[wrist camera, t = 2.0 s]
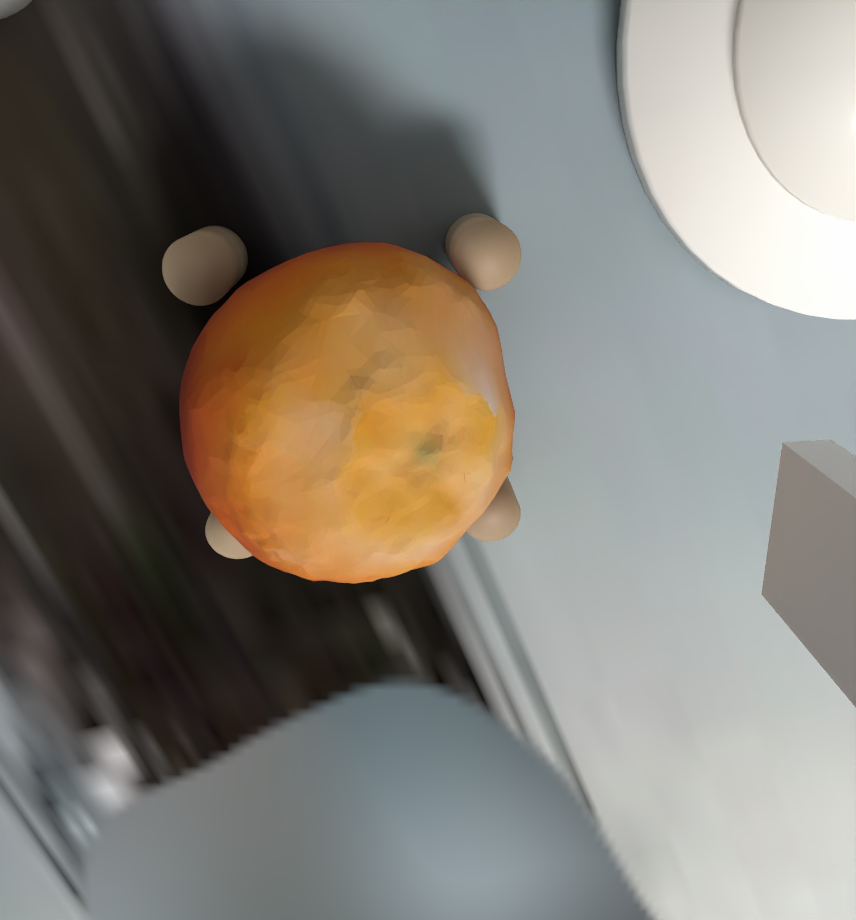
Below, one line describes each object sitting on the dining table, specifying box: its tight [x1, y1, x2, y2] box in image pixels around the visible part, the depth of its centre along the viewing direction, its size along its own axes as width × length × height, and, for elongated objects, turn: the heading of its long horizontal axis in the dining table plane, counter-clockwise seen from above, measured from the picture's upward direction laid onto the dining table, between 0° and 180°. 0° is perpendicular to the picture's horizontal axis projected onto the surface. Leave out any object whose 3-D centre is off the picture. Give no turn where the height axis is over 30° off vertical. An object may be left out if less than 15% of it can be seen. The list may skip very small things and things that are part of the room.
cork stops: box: [162, 213, 521, 559], centre depth 21 cm, size 8×8×2 cm
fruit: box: [179, 242, 515, 583], centre depth 19 cm, size 8×8×8 cm
